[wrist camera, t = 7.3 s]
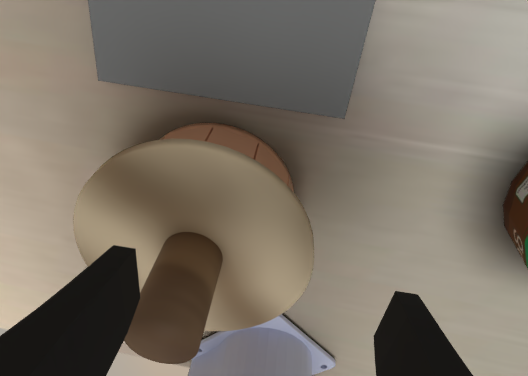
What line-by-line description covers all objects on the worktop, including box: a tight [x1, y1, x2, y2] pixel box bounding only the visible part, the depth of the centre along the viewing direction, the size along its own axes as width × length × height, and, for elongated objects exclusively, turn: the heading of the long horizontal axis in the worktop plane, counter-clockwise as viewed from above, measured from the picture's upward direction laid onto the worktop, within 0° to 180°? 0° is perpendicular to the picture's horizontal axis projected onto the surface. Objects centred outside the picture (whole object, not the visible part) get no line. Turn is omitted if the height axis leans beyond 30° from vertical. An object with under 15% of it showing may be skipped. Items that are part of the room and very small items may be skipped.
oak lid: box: [73, 139, 314, 364], centre depth 16 cm, size 11×11×5 cm
